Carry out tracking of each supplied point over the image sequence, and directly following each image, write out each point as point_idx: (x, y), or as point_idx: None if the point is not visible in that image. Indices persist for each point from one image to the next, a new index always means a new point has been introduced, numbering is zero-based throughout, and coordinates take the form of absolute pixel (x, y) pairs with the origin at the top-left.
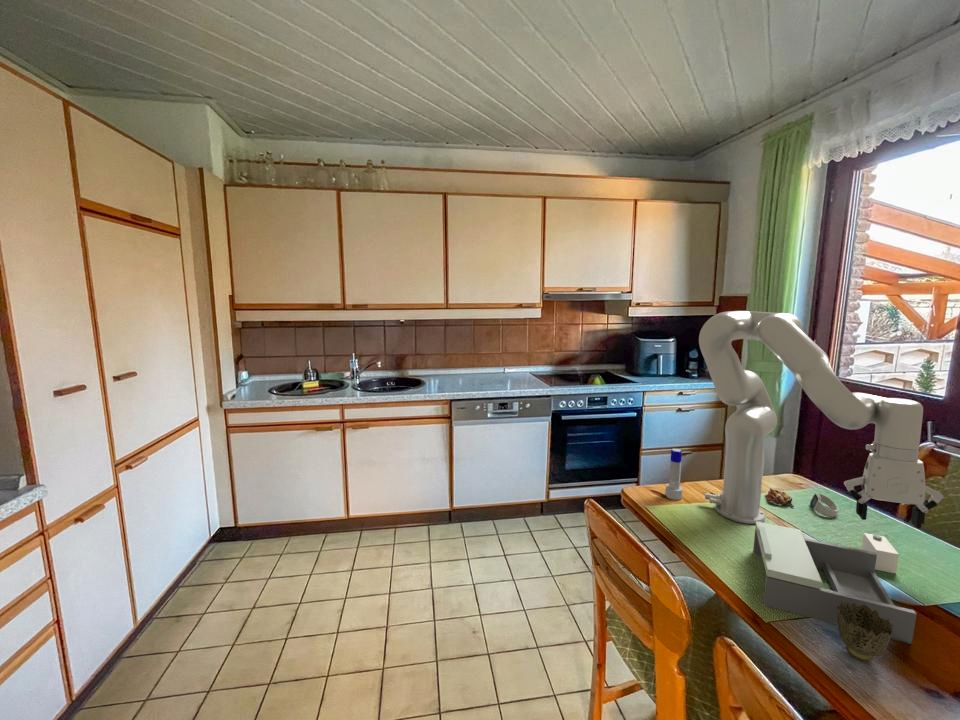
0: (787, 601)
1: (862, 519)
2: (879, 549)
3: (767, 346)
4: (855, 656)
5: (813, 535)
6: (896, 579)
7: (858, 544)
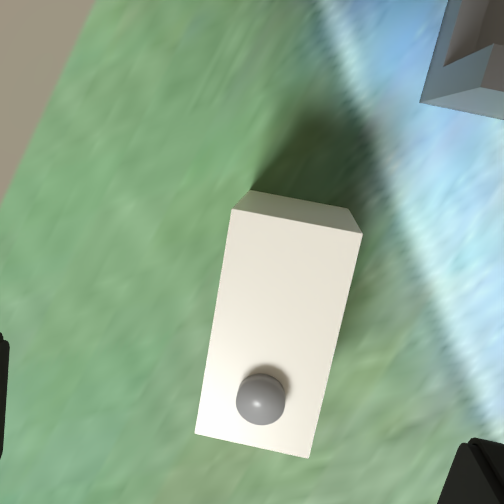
0: None
1: (498, 444)
2: (334, 246)
3: None
4: None
5: None
6: (280, 126)
7: None
